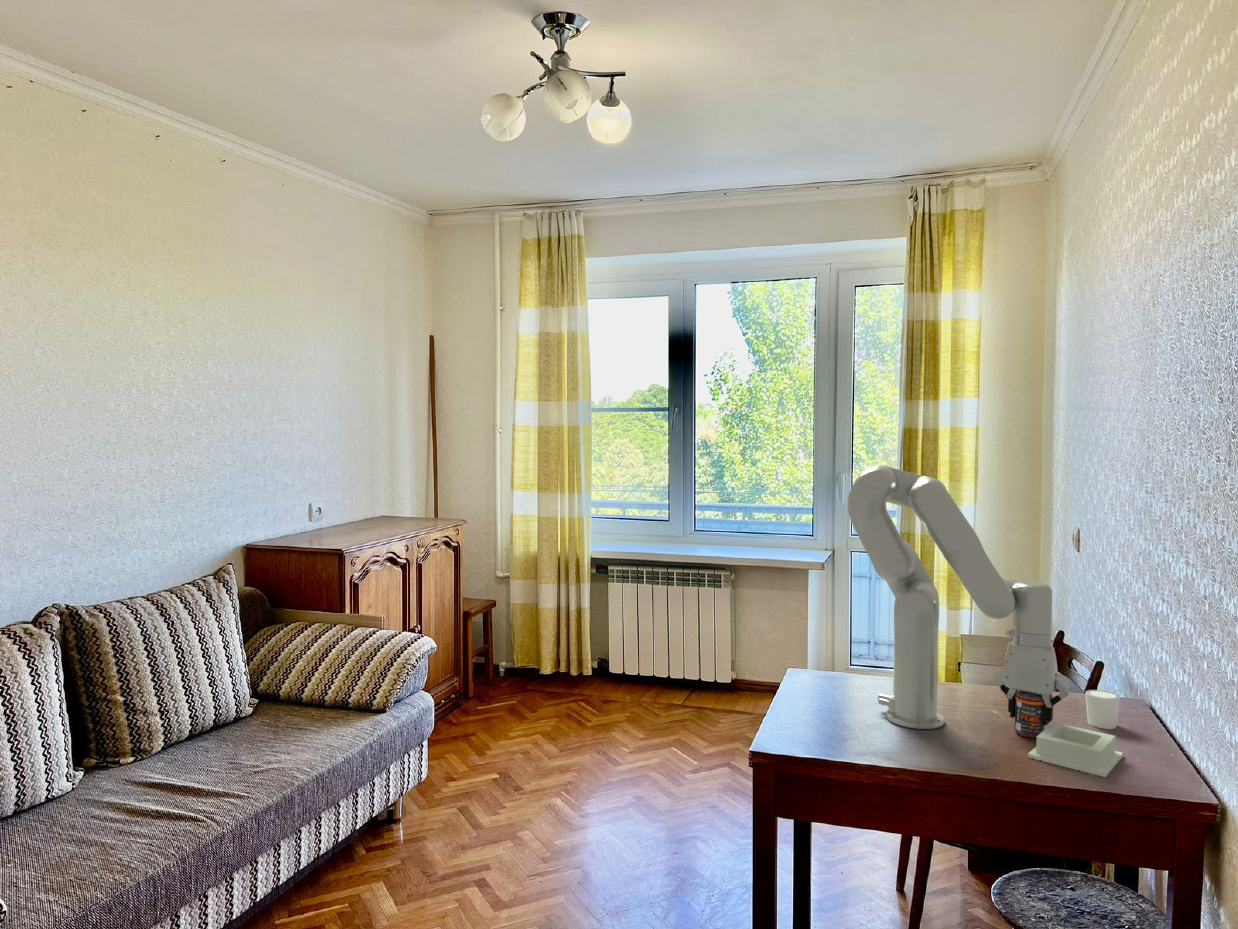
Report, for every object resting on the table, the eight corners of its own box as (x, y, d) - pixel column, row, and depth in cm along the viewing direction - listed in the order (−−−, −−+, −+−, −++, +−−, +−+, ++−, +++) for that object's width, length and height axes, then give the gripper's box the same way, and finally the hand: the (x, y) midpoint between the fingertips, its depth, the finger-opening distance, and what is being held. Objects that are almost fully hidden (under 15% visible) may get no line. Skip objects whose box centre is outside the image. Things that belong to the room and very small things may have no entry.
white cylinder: (1112, 732, 182) (1113, 701, 181) (1079, 723, 187) (1080, 693, 187) (1124, 725, 186) (1125, 694, 186) (1091, 717, 191) (1092, 687, 191)
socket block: (1027, 757, 167) (1028, 736, 167) (1049, 738, 178) (1049, 719, 177) (1105, 777, 158) (1105, 755, 158) (1123, 756, 168) (1123, 736, 168)
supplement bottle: (1018, 738, 178) (1019, 686, 178) (1011, 728, 184) (1012, 678, 183) (1048, 740, 177) (1049, 688, 176) (1040, 730, 182) (1041, 680, 182)
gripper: (985, 635, 183) (983, 714, 183) (1070, 649, 171) (1068, 734, 172) (996, 629, 188) (995, 706, 189) (1080, 642, 176) (1078, 725, 177)
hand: (1030, 719), depth 180 cm, fingers closed on supplement bottle, 6 cm apart
